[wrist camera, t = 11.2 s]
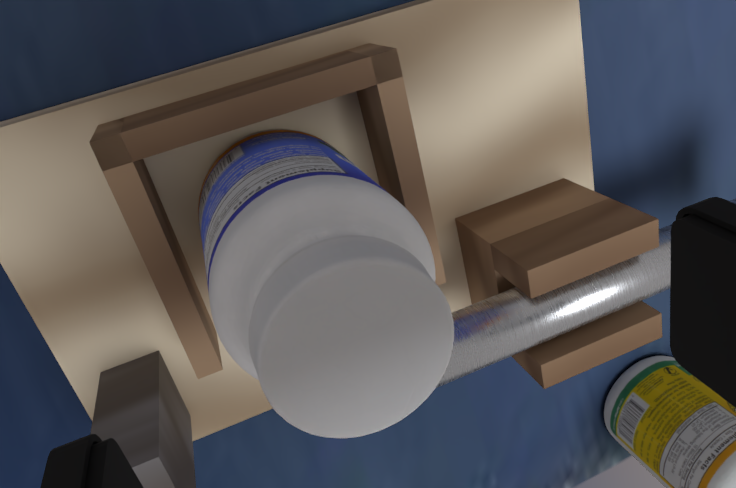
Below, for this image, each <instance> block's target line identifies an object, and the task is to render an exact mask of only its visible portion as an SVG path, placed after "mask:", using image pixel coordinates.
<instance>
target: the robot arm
mask: <svg viewBox="0 0 736 488" xmlns="http://www.w3.org/2000/svg"><path fill="white" fill-rule="evenodd" d="M670 348H671V352H672V355H673V356H674V358H675V360H676V361H677V362H678V364H679V365H680V366H681V367H683V368H684V369H685V370H686V371H688V372H689V373H690V374H692V375H693V376H694V377H696V378H697V379H698V380H700V381H701V382H702V383H704V384H705V385H706V386H708V387H709V388H710V389H712V390H713V391H714V392H716V393H717V394H718V395H719V396H721V397H722V398H723V399H725V400H726V401H727V402H729V403H730V404H731V405H733V406H734V407H735V408H736V204H735V203H732V202H730V201H727V200H725V199H722V198H718V197H713V198H708V199H706V200H703V201H701V202H698V203H695V204H693V205H690V206H688V207H685V208H683V209H681V210H680V211H679V212H678V214H677V216H676V221H674V222H673V224H672V226H671V280H670ZM41 488H144V487H143V486H142V484H141V482H140V481H139V479H138V477H137V476H136V474H135V472H134V470H133V469H132V467H131V465H130V464H129V462H128V460H127V459H126V457H125V455H124V453H123V452H122V450H121V448H120V447H119V445H118V443H117V442H116V441H115V440H114V439H113V438H109V439H107V440H104V441H102V440H101V438H100V437H99V436H97V435H96V434H91V435H88V436H86V437H83V438H80V439H78V440H75V441H73V442H70V443H67V444H65V445H62V446H59V447H57V448H54V449H53V450H52V451H50V454H49V456H48V460H47V464H46V468H45V472H44V476H43V480H42V484H41Z"/></svg>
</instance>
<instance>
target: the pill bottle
mask: <svg viewBox="0 0 736 488" xmlns="http://www.w3.org/2000/svg"><path fill="white" fill-rule="evenodd" d="M198 217H199V226H200V233H201V239H202V245H203V253H204V260H205V268H206V276H207V285H208V292H209V300H210V308H211V314H212V318H213V321H214V325H215V328H216V331H217V334H218V336H219V338H220V340H221V342H222V344H223V345H224V347H225V349H226V350H227V352H228V353H229V355H230V356H231V357H232V358H233V360H234V361H235V362H236V363H237V364H238V365H239V366H240V367H241V368H242V369H243V370H244V371H246V372H247V373H248V374H250V375H251V376H252V377H254V378H256V379H257V380H259V382H260V385H261V388H262V390H263V392H264V394H265V396H266V398H267V400H268V401H269V403H270V405H271V406H272V407H273V409H274V410H275V411H276V412H277V413H278V414H279V415H280V416H281V417H282V418H283V419H284V420H285V421H287V422H288V423H290V424H291V425H293V426H295V427H296V428H298V429H300V430H302V431H304V432H307V433H310V434H313V435H317V436H321V437H328V438H351V437H359V436H364V435H367V434H371V433H374V432H377V431H380V430H382V429H385V428H387V427H389V426H391V425H393V424H395V423H397V422H399V421H400V420H402V419H403V418H405V417H406V416H408V415H409V414H410V413H412V412H413V411H414V410H415V409H416V408H418V407H419V406H420V405H421V404H422V403H423V402H424V401H425V400H426V399H427V398H428V397H429V395H430V394H431V393H432V392H433V391H434V389H435V388H436V386H437V385H438V383H439V382H440V380H441V378H442V376H443V375H444V373H445V371H446V368H447V366H448V363H449V361H450V358H451V353H452V349H453V342H454V322H453V317H452V312H451V309H450V306H449V303H448V301H447V299H446V297H445V295H444V294H443V292H442V291H441V289H440V288H439V287H438V285H437V284H436V283H435V280H436V277H435V264H434V258H433V254H432V251H431V247H430V244H429V242H428V240H427V237H426V235H425V233H424V231H423V230H422V228H421V226H420V225H419V223H418V222H417V220H416V219H415V218H414V217H413V215H412V214H411V213H410V212H409V211H408V210H407V209H406V208H405V207H404V206H403V205H402V204H401V203H400V202H399V201H398V200H396V199H395V198H394V197H393V196H391V195H390V194H389V193H388V192H387V191H386V190H384V189H383V188H382V187H381V186H379V185H378V184H377V183H376V182H375V181H373V180H372V179H371V178H370V177H368V176H367V175H366V174H365V173H364V172H363V171H361V170H360V169H359V168H358V167H357V166H356V165H354V164H353V163H352V162H351V161H350V160H348V159H347V158H346V157H345V156H344V155H343V154H342V153H340V152H339V151H338V150H337V149H336V148H334V147H333V146H331V145H330V144H328V143H327V142H325V141H324V140H322V139H320V138H318V137H316V136H314V135H312V134H309V133H306V132H302V131H297V130H289V129H274V130H267V131H261V132H257V133H254V134H251V135H248V136H246V137H244V138H242V139H240V140H238V141H237V142H235V143H234V144H232V145H231V146H229V147H228V148H227V149H226V150H225V151H223V152H222V153H221V154H220V155H219V156H218V157H217V159H216V160H215V161H214V163H213V164H212V165H211V167H210V169H209V170H208V172H207V174H206V176H205V178H204V181H203V183H202V187H201V191H200V195H199V203H198Z"/></svg>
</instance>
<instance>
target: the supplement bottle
mask: <svg viewBox="0 0 736 488" xmlns="http://www.w3.org/2000/svg"><path fill="white" fill-rule="evenodd" d="M604 420H605V424H606V427H607V429H608V431H609V433H610V434H611V435H612V436H613V437H614V438H615V439H616V440H617V441H618V442H619V443H620V444H621V445H622V446H623V447H624V448H625V449H626V450H627V451H628V452H629V453H630V454H631V455H632V456H633V457H634V458H636V460H638V461H639V462H640V463H641V464H642V465H643V466H644V467H645V468H646V469H647V470H648V471H649V472H650V473H651V474H652V475H653V476H654V477H655V478H656V479H657V480H658V481H659V482H661V483H662V484H663V485H664V486H665V487H666V488H736V408H735V407H734V406H733V405H731V404H730V403H729V402H727V401H726V400H725V399H723V398H722V397H721V396H719V395H718V394H717V393H716V392H714V391H713V390H712V389H710V388H709V387H708V386H706V385H705V384H704V383H702V382H701V381H700V380H698V379H697V378H696V377H694V376H693V375H692V374H690V373H689V372H688V371H686V370H685V369H684V368H683V367H681V366H680V365H679V364H678V362H677V361H676V360H675V358H673V357H669V356H652V357H649V358H646V359H643V360H641V361H639V362H637V363H635V364H634V365H632V366H631V367H630V368H628V369H627V370H626V371H625V372H624V373H623V374H622V375H621V376H620V377H619V378H618V379H617V380H616V382H615V383H614V385H613V386H612V388H611V390H610V392H609V394H608V396H607V399H606V402H605V407H604Z"/></svg>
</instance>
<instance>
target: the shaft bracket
mask: <svg viewBox="0 0 736 488" xmlns="http://www.w3.org/2000/svg"><path fill="white" fill-rule="evenodd" d="M274 129H289V130H297V131H302V132H306V133H309V134H312V135H314V136H316V137H318V138H320V139H322V140H324V141H325V142H327V143H328V144H330V145H331V146H333V147H334V148H336V149H337V150H338V151H339V152H340V153H342V154H343V155H344V156H345V157H346V158H347V159H348V160H350V161H351V162H352V163H353V164H354V165H356V166H357V167H358V168H359V169H360V170H361V171H363V172H364V173H365V174H366V175H367V176H368V177H370V178H371V179H372V180H373V181H375V182H376V183H377V184H378V185H379V186H381V187H382V188H383V189H384V190H386V191H387V192H388V193H389V194H390V195H391V196H393V197H394V198H395V199H396V200H398V201H399V202H400V203H401V204H402V205H403V206H404V207H405V208H406V209H407V210H408V211H409V212H410V213H411V214H412V215H413V217H414V218H415V219H416V220H417V222H418V223H419V225H420V226H421V228H422V230H423V231H424V233H425V235H426V237H427V240H428V242H429V244H430V247H431V251H432V254H433V258H434V264H435V277H436V280H435V283H436V284H437V285H438V287H439V288H440V289H441V291H442V292H443V294H444V295H445V297H446V299H447V301H448V303H449V306H450V309H451V312H455V311H457V310H460V309H462V308H465V307H467V306H470V305H472V304H475V303H477V302H480V301H482V300H485V299H487V298H490V297H492V296H495V295H497V294H500V293H502V292H505V291H507V290H510V289H512V288H515V287H517V288H518V289H520V290H521V291H522V292H523V293H525V294H526V295H527V296H528V297H530V298H531V299H532V298H535V297H537V296H540V295H542V294H544V293H547V292H549V291H552V290H554V289H557V288H559V287H562V286H564V285H566V284H569V283H571V282H574V281H576V280H579V279H581V278H584V277H586V276H589V275H591V274H593V273H596V272H598V271H601V270H603V269H606V268H608V267H611V266H613V265H615V264H618V263H620V262H623V261H625V260H628V259H630V258H633V257H635V256H637V255H640V254H642V253H645V252H647V251H650V250H652V249H655V248H657V247H659V224H658V219H657V218H655V217H653V216H650V215H648V214H646V213H644V212H641V211H639V210H637V209H634V208H632V207H630V206H627V205H625V204H623V203H620V202H618V201H616V200H613V199H611V198H609V197H607V196H604V195H602V194H600V193H597V192H595V191H594V180H593V167H592V155H591V143H590V131H589V118H588V106H587V94H586V82H585V69H584V57H583V45H582V33H581V21H580V8H579V0H415V1H412V2H408V3H405V4H401V5H398V6H395V7H391V8H388V9H384V10H381V11H377V12H374V13H371V14H367V15H364V16H360V17H357V18H354V19H350V20H347V21H343V22H340V23H336V24H333V25H330V26H326V27H323V28H319V29H316V30H313V31H309V32H306V33H302V34H299V35H295V36H292V37H289V38H285V39H282V40H278V41H275V42H272V43H268V44H265V45H261V46H258V47H254V48H251V49H248V50H244V51H241V52H237V53H234V54H231V55H227V56H224V57H220V58H217V59H213V60H210V61H207V62H203V63H200V64H196V65H193V66H190V67H186V68H183V69H179V70H176V71H172V72H169V73H166V74H162V75H159V76H155V77H152V78H149V79H145V80H142V81H138V82H135V83H131V84H128V85H125V86H121V87H118V88H114V89H111V90H107V91H104V92H101V93H97V94H94V95H90V96H87V97H84V98H80V99H77V100H73V101H70V102H66V103H63V104H60V105H56V106H53V107H49V108H46V109H43V110H39V111H36V112H32V113H29V114H25V115H22V116H19V117H15V118H12V119H8V120H5V121H2V122H0V263H1V265H2V267H3V268H4V270H5V272H6V273H7V275H8V277H9V279H10V280H11V282H12V284H13V286H14V287H15V289H16V291H17V292H18V294H19V296H20V298H21V299H22V301H23V303H24V304H25V306H26V308H27V310H28V311H29V313H30V315H31V317H32V318H33V320H34V322H35V323H36V325H37V327H38V329H39V330H40V332H41V334H42V336H43V337H44V339H45V341H46V342H47V344H48V346H49V348H50V349H51V351H52V353H53V354H54V356H55V358H56V360H57V361H58V363H59V365H60V367H61V368H62V370H63V372H64V373H65V375H66V377H67V379H68V380H69V382H70V384H71V386H72V387H73V389H74V391H75V392H76V394H77V396H78V398H79V399H80V401H81V403H82V404H83V406H84V408H85V410H86V411H87V413H88V415H89V417H90V418H91V420H92V428H91V434H96V435H97V436H99V437H100V438H101V440H102V441H104V440H107V439H109V438H113V439H114V440H115V441H116V442H117V443H118V445H119V447H120V448H121V450H122V452H123V453H124V455H125V457H126V459H127V460H128V462H129V464H130V465H131V467H132V469H133V470H134V472H135V474H136V476H137V477H138V479H139V481H140V482H141V484H142V486H143V487H144V488H196V482H195V469H194V455H193V442H192V441H195V440H197V439H200V438H202V437H204V436H207V435H209V434H212V433H214V432H217V431H219V430H222V429H224V428H226V427H229V426H231V425H234V424H236V423H239V422H241V421H244V420H246V419H248V418H251V417H253V416H256V415H258V414H261V413H263V412H265V411H268V410H270V409H273V407H272V406H271V405H270V403H269V401H268V400H267V398H266V396H265V394H264V392H263V390H262V388H261V385H260V382H259V380H257V379H256V378H254V377H252V376H251V375H250V374H248V373H247V372H246V371H244V370H243V369H242V368H241V367H240V366H239V365H238V364H237V363H236V362H235V361H234V360H233V358H232V357H231V356H230V355H229V353H228V352H227V350H226V349H225V347H224V345H223V344H222V342H221V340H220V338H219V336H218V334H217V331H216V328H215V325H214V321H213V318H212V314H211V308H210V300H209V292H208V285H207V276H206V268H205V260H204V253H203V245H202V239H201V233H200V226H199V217H198V203H199V195H200V191H201V187H202V183H203V181H204V178H205V176H206V174H207V172H208V170H209V169H210V167H211V165H212V164H213V163H214V161H215V160H216V159H217V157H218V156H219V155H220V154H221V153H222V152H223V151H225V150H226V149H227V148H228V147H229V146H231V145H232V144H234V143H235V142H237V141H238V140H240V139H242V138H244V137H246V136H248V135H251V134H254V133H257V132H261V131H267V130H274ZM661 337H662V317H661V313H660V312H658V311H657V310H655V309H654V308H652V307H650V306H649V305H647V304H646V303H644V302H642V301H639V302H637V303H635V304H632V305H630V306H628V307H625V308H623V309H621V310H618V311H616V312H613V313H611V314H609V315H606V316H604V317H602V318H599V319H597V320H595V321H592V322H590V323H588V324H585V325H583V326H581V327H578V328H576V329H573V330H571V331H569V332H566V333H564V334H562V335H559V336H557V337H555V338H552V339H550V340H548V341H545V342H543V343H541V344H538V345H536V346H534V347H531V348H529V349H526V350H524V351H522V352H519V353H517V354H515V355H512V357H513V358H514V359H515V360H516V361H517V362H518V363H519V364H520V365H521V366H522V367H523V368H524V369H525V370H526V371H527V372H528V373H529V374H530V375H531V376H532V377H533V378H534V379H535V380H536V381H537V382H538V383H539V384H540V385H541V386H542V387H543V388H544V389H546V388H548V387H550V386H552V385H555V384H557V383H559V382H561V381H564V380H566V379H568V378H571V377H573V376H575V375H577V374H580V373H582V372H584V371H586V370H589V369H591V368H593V367H595V366H598V365H600V364H602V363H605V362H607V361H609V360H611V359H614V358H616V357H618V356H620V355H623V354H625V353H627V352H629V351H632V350H634V349H636V348H638V347H641V346H643V345H645V344H648V343H650V342H652V341H654V340H657V339H659V338H661ZM91 434H90V435H91Z"/></svg>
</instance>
